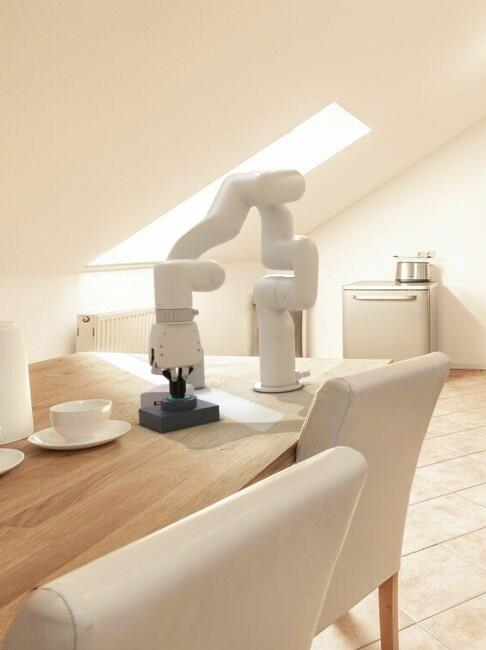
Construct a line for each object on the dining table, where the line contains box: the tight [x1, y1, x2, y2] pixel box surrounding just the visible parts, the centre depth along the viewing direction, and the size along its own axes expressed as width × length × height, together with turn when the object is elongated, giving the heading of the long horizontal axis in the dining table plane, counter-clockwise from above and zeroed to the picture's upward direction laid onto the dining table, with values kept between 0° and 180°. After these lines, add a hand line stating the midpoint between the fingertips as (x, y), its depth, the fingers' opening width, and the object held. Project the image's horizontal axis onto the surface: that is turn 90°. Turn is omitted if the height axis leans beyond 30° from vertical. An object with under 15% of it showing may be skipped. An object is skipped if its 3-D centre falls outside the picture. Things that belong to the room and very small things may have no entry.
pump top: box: [168, 395, 190, 401], centre depth 142 cm, size 4×4×2 cm
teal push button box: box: [138, 394, 221, 434], centre depth 142 cm, size 13×11×6 cm
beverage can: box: [186, 344, 206, 390], centre depth 176 cm, size 6×6×12 cm
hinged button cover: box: [139, 383, 195, 408], centre depth 158 cm, size 5×9×15 cm
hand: (178, 397), depth 141 cm, fingers closed
